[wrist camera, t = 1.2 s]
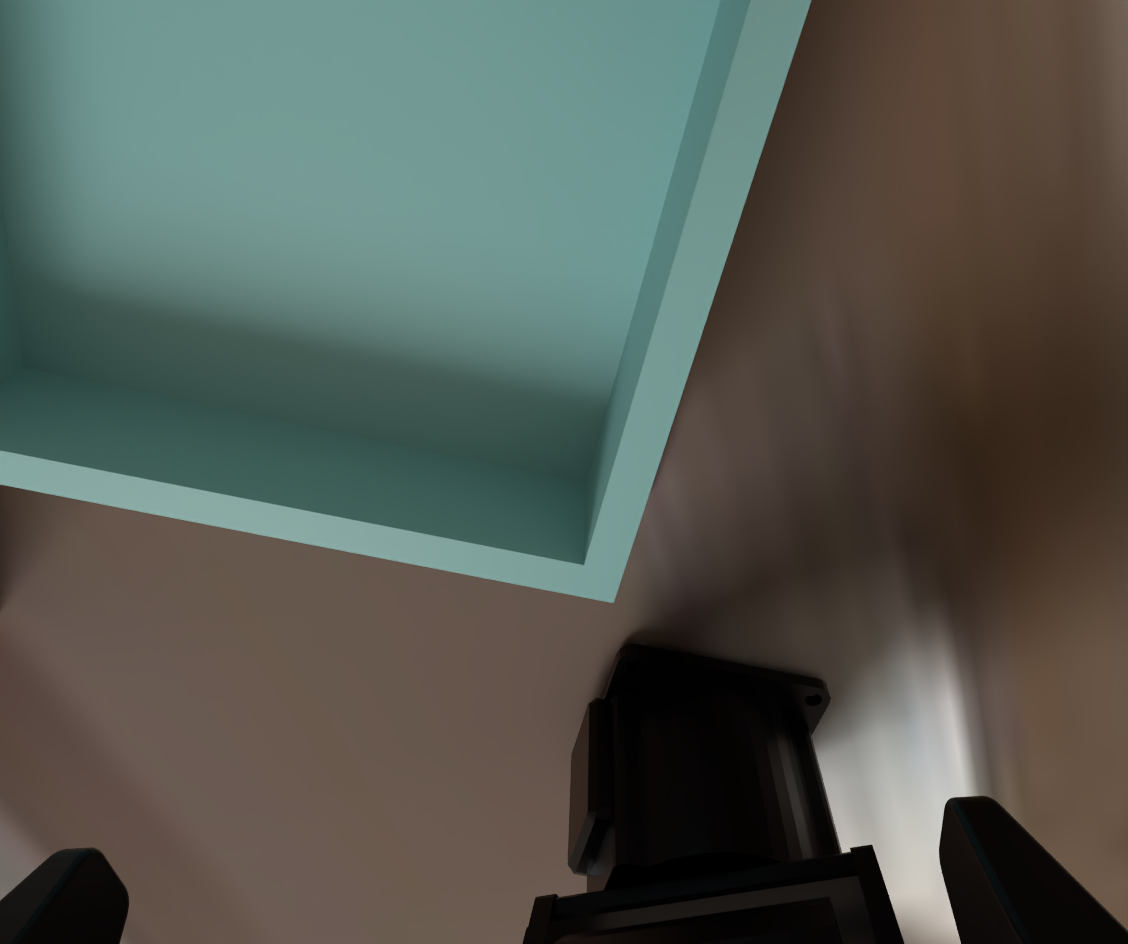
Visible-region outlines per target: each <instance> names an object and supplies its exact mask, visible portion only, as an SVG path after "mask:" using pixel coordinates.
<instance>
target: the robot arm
mask: <svg viewBox="0 0 1128 944" xmlns="http://www.w3.org/2000/svg"><path fill="white" fill-rule="evenodd" d="M630 660H637V661H639V662H636V663H631V662H628V661H630ZM811 694H815V695H813V696H808V695H811ZM830 699H831V698H830V695H829V691H828V688H827V685H826V683H825V682H824V681H822V680H820V679H817V678H812V677H807V676H802V675H797V674H791V673H786V672H781V671H776V670H770V669H765V668H760V667H754V666H749V665H744V664H739V663H733V662H728V661H723V660H718V659H712V658H707V657H702V656H696V655H691V654H686V653H681V652H675V651H670V650H665V649H660V648H654V647H649V646H644V645H638V644H630V645H626V646H624V647H622V648H621V649H620V650H619V651H618V653H617V655H616V658H615V661H614V664H613V667H612V670H611V672H610V675H609V678H608V681H607V684H606V687H605V690H604V693H603V696H602V698H601V699H599V698H595V699H594V700H593V701H591V702H590V703H589V704H588V707H587V710H586V713H585V716H584V719H583V722H582V725H581V728H580V731H579V734H578V737H577V740H576V743H575V746H574V749H573V752H572V757H571V785H570V813H569V841H568V866H569V867H570V869H571V870H572V872H573V873H574V874H577V875H583V876H587V893H583V894H576V895H570V896H563V897H558V895H557V894H552V895H546V896H539V897H536V898H535V901H534V905H533V909H532V914H531V918H530V922H529V926H528V927H527V929H526V932H525V936H524V940H523V944H904V941H903V938H902V935H901V932H900V929H899V926H898V923H897V920H896V917H895V913H894V910H893V907H892V904H891V901H890V898H889V895H888V892H887V889H886V886H885V883H884V880H883V877H882V873H881V870H880V867H879V864H878V861H877V858H876V855H875V852H874V849H873V846H872V845H866V846H859V847H853V848H850V850H851V852H846V853H842V851H841V847H840V844H839V840H838V836H837V832H836V828H835V825H834V821H833V817H832V813H831V809H830V806H829V802H828V798H827V794H826V790H825V787H824V783H823V779H822V775H821V771H820V768H819V764H818V760H817V756H816V752H815V749H814V745H813V741H812V737H811V735H812V734H813V732H814V730H815V728H816V726H817V725H818V723H819V721H820V719H821V717H822V715H823V714H824V712H825V710H826V708H827V706H828V705H829V702H830ZM939 857H940V865H941V870H942V874H943V878H944V882H945V885H946V889H947V893H948V896H949V900H950V904H951V908H952V911H953V915H954V919H955V922H956V926H957V930H958V933H959V937H960V941H961V944H1128V931H1127V930H1126V929H1125V928H1124V927H1123V926H1122V925H1121V924H1120V923H1119V922H1118V921H1117V920H1116V919H1115V918H1114V917H1113V916H1112V915H1111V914H1110V913H1109V912H1108V911H1107V910H1106V909H1105V908H1104V907H1103V906H1102V905H1101V904H1100V903H1099V902H1098V901H1097V900H1096V899H1095V898H1094V897H1093V896H1092V895H1091V894H1090V893H1089V892H1088V891H1087V890H1086V889H1085V888H1084V887H1083V886H1082V885H1081V884H1080V883H1079V882H1078V881H1077V880H1076V879H1075V878H1074V877H1073V876H1072V875H1071V874H1070V873H1069V872H1068V871H1067V870H1066V869H1065V868H1064V867H1063V866H1062V865H1061V864H1060V863H1059V862H1058V861H1057V860H1056V859H1054V858H1053V857H1052V856H1051V855H1050V854H1049V853H1048V852H1047V851H1046V850H1045V849H1044V848H1043V847H1042V846H1041V845H1040V844H1039V843H1038V842H1037V841H1036V840H1035V839H1034V838H1033V837H1032V836H1031V835H1030V834H1029V833H1028V832H1027V831H1026V830H1025V829H1024V828H1023V827H1022V826H1021V825H1020V824H1019V823H1018V822H1017V821H1016V820H1015V819H1014V818H1013V817H1012V816H1011V815H1010V814H1009V813H1008V812H1007V811H1006V810H1005V809H1004V808H1003V807H1002V806H1001V805H1000V804H999V803H998V802H996V801H995V800H994V799H992V798H989V797H987V796H973V797H955V798H950V799H949V800H948V801H947V803H946V805H945V809H944V816H943V824H942V831H941V838H940V846H939ZM128 908H129V896H128V892H127V889H126V887H125V886H124V884H123V883H122V881H121V880H120V878H119V877H118V875H117V874H116V872H115V871H114V869H113V868H112V866H111V865H110V863H109V862H108V860H107V859H106V858H105V856H104V855H103V853H102V852H101V851H100V850H98V849H95V848H75V849H65V850H61V851H58V852H56V853H55V854H53V855H52V856H50V857H49V858H48V859H47V860H45V861H44V862H43V863H42V864H41V865H40V866H39V867H38V868H36V869H35V870H34V871H33V872H32V873H31V874H30V875H29V876H27V877H26V878H25V879H24V880H23V881H22V882H21V883H20V884H18V885H17V886H16V887H15V888H14V889H13V890H12V891H11V892H9V893H8V894H7V895H6V896H5V897H4V898H3V899H2V900H1V901H0V944H120V940H121V936H122V933H123V929H124V926H125V922H126V918H127V914H128Z"/></svg>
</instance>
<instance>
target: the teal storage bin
mask: <svg viewBox="0 0 1128 944" xmlns="http://www.w3.org/2000/svg"><path fill="white" fill-rule="evenodd" d="M810 3H811V0H0V485H5V486H11V487H16V488H21V489H26V490H31V491H36V492H42V493H47V494H52V495H57V496H62V497H68V498H73V499H78V500H83V501H88V502H93V503H99V504H104V505H109V506H114V507H119V508H124V509H130V510H135V511H140V512H145V513H150V514H155V515H161V516H166V517H171V518H176V519H181V520H186V521H192V522H197V523H202V524H207V525H212V526H217V527H223V528H228V529H233V530H238V531H243V532H249V533H254V534H259V535H264V536H269V537H274V538H280V539H285V540H290V541H295V542H300V543H305V544H311V545H316V546H321V547H326V548H331V549H336V550H342V551H347V552H352V553H357V554H362V555H367V556H373V557H378V558H383V559H388V560H393V561H398V562H404V563H409V564H414V565H419V566H424V567H430V568H435V569H440V570H445V571H450V572H455V573H461V574H466V575H471V576H476V577H481V578H486V579H492V580H497V581H502V582H507V583H512V584H517V585H523V586H528V587H533V588H538V589H543V590H548V591H554V592H559V593H564V594H569V595H574V596H579V597H585V598H590V599H595V600H600V601H605V602H611V603H614V600H615V597H616V594H617V591H618V588H619V585H620V582H621V579H622V576H623V573H624V570H625V567H626V563H627V560H628V557H629V554H630V551H631V548H632V545H633V542H634V539H635V536H636V533H637V530H638V527H639V524H640V521H641V518H642V515H643V512H644V509H645V506H646V503H647V500H648V496H649V493H650V490H651V487H652V484H653V481H654V478H655V475H656V472H657V469H658V466H659V463H660V460H661V457H662V454H663V451H664V448H665V445H666V442H667V439H668V436H669V433H670V430H671V426H672V423H673V420H674V417H675V414H676V411H677V408H678V405H679V402H680V399H681V396H682V393H683V390H684V387H685V384H686V381H687V378H688V375H689V372H690V369H691V366H692V363H693V359H694V356H695V353H696V350H697V347H698V344H699V341H700V338H701V335H702V332H703V329H704V326H705V323H706V320H707V317H708V314H709V311H710V308H711V305H712V302H713V299H714V296H715V293H716V289H717V286H718V283H719V280H720V277H721V274H722V271H723V268H724V265H725V262H726V259H727V256H728V253H729V250H730V247H731V244H732V241H733V238H734V235H735V232H736V229H737V226H738V222H739V219H740V216H741V213H742V210H743V207H744V204H745V201H746V198H747V195H748V192H749V189H750V186H751V183H752V180H753V177H754V174H755V171H756V168H757V165H758V162H759V159H760V156H761V152H762V149H763V146H764V143H765V140H766V137H767V134H768V131H769V128H770V125H771V122H772V119H773V116H774V113H775V110H776V107H777V104H778V101H779V98H780V95H781V92H782V89H783V85H784V82H785V79H786V76H787V73H788V70H789V67H790V64H791V61H792V58H793V55H794V52H795V49H796V46H797V43H798V40H799V37H800V34H801V31H802V28H803V25H804V22H805V19H806V15H807V12H808V9H809V6H810Z"/></svg>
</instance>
